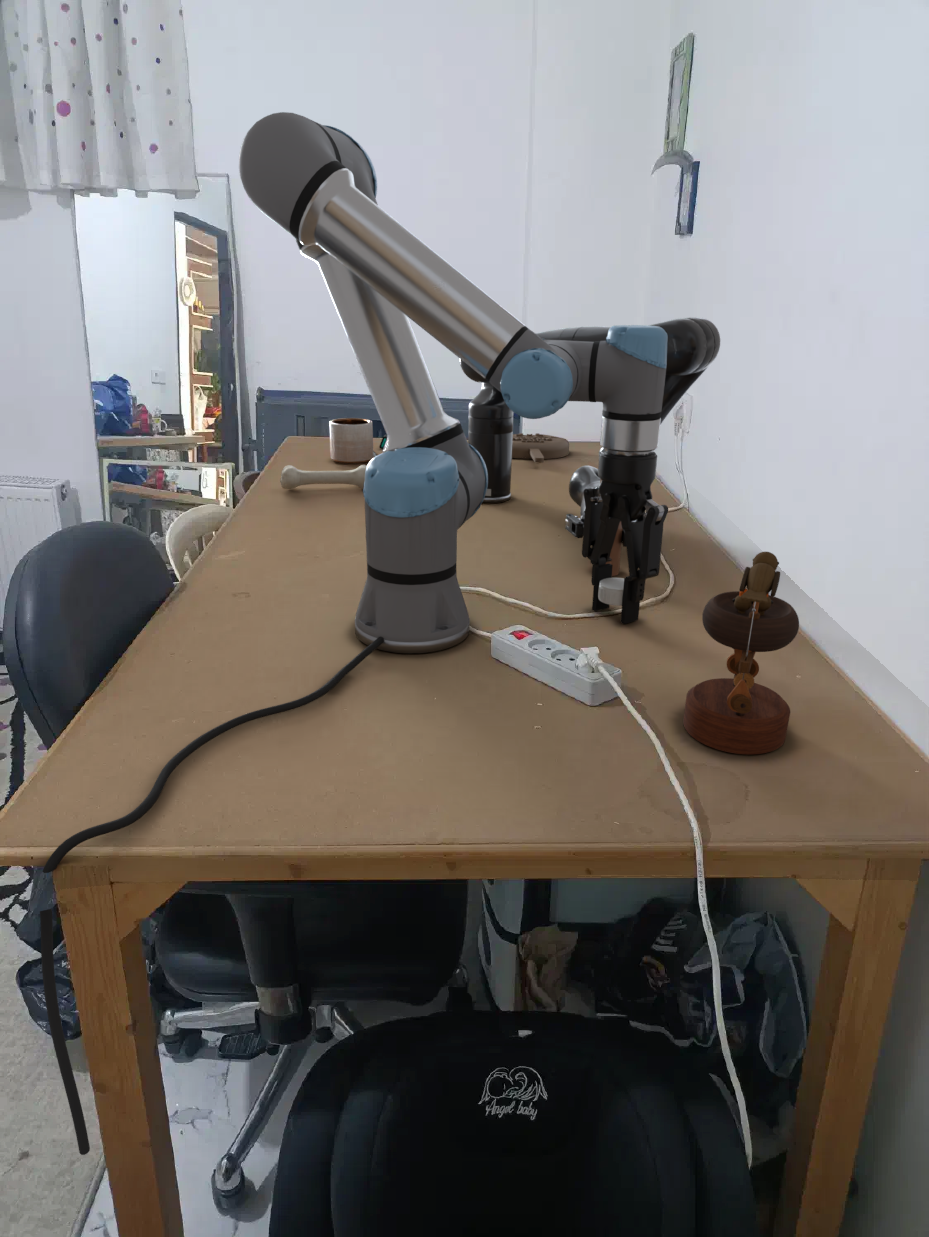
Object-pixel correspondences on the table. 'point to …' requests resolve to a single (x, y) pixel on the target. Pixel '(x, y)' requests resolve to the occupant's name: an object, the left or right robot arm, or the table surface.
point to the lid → (611, 591)
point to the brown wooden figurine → (744, 666)
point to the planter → (351, 440)
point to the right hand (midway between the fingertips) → (610, 539)
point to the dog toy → (321, 477)
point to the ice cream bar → (538, 447)
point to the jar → (616, 550)
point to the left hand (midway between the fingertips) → (614, 614)
